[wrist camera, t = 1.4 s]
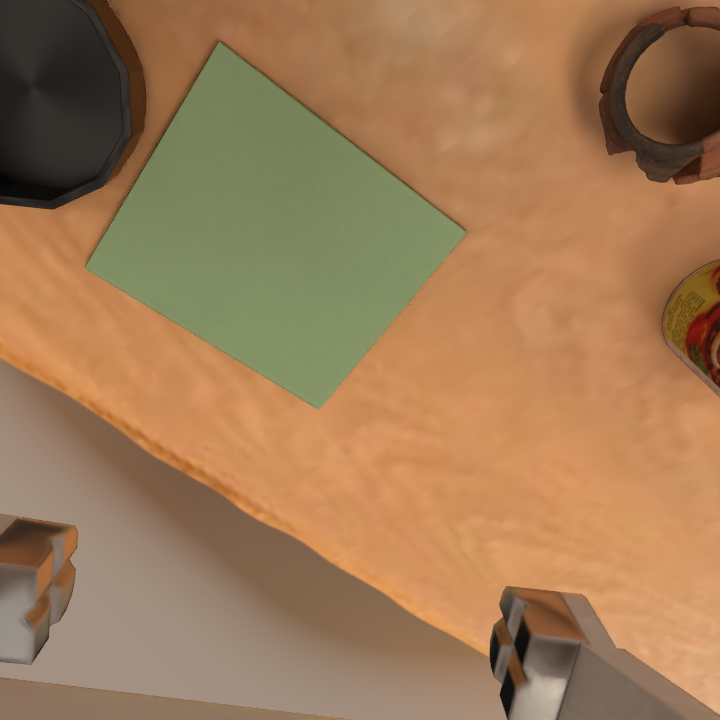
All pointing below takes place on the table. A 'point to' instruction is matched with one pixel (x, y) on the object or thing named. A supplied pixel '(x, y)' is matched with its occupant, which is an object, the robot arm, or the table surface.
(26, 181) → the pan
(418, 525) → the table surface
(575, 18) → the table surface
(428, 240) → the trivet
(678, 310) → the canned food
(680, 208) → the table surface
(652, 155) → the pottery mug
